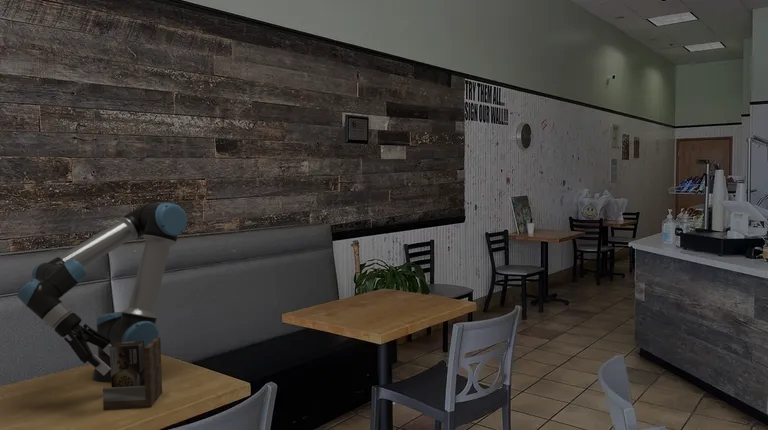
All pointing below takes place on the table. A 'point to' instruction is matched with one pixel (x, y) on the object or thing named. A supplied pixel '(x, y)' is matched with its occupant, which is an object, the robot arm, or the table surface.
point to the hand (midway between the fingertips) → (114, 366)
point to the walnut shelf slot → (139, 394)
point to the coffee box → (127, 364)
